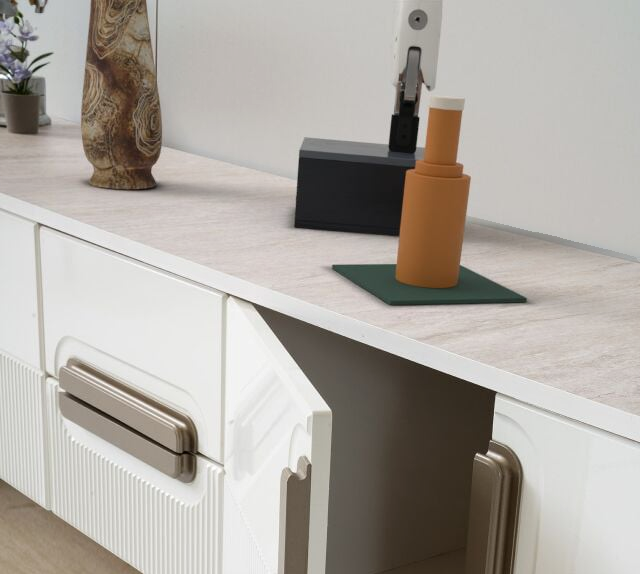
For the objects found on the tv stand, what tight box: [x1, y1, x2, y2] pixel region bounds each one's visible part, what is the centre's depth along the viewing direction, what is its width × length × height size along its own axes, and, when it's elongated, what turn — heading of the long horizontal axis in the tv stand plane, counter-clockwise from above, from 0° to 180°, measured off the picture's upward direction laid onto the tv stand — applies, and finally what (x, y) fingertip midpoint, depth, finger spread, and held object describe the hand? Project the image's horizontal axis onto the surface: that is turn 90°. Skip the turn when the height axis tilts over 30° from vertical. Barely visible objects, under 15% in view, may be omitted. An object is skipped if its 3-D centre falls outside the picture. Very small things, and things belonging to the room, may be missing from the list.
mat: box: [331, 263, 528, 306], centre depth 108 cm, size 14×14×1 cm
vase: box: [80, 0, 163, 190], centre depth 142 cm, size 10×11×30 cm
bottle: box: [395, 94, 472, 288], centre depth 105 cm, size 6×6×17 cm
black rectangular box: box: [293, 156, 415, 237], centre depth 134 cm, size 16×13×8 cm
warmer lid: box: [298, 136, 425, 167], centre depth 132 cm, size 16×13×1 cm
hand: (401, 151), depth 132 cm, fingers closed
